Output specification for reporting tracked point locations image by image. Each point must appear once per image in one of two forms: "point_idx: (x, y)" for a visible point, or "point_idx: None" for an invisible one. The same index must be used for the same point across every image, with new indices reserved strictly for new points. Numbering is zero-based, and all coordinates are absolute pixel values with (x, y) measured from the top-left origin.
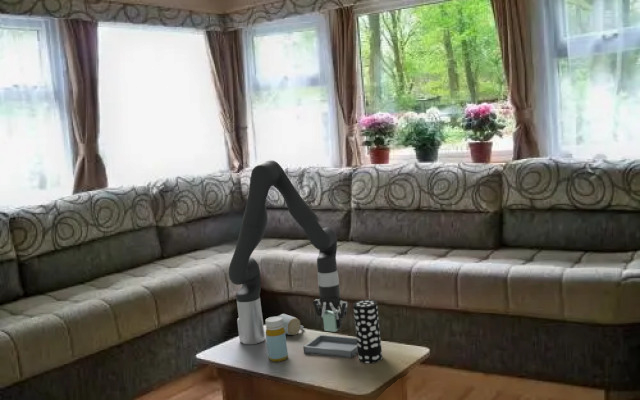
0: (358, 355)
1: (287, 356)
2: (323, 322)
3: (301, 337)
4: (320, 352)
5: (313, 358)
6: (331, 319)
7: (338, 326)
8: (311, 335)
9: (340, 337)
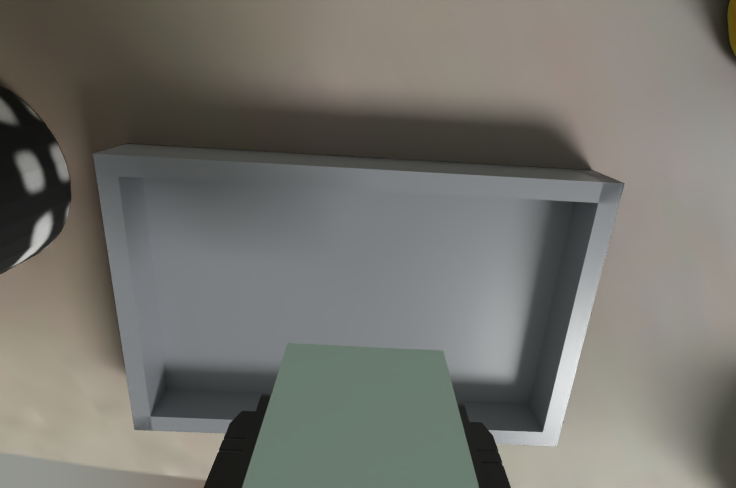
0: (4, 119)
1: (729, 18)
2: (488, 459)
3: (706, 438)
4: (429, 163)
5: (461, 72)
6: (305, 469)
7: (255, 419)
8: (639, 477)
9: None
